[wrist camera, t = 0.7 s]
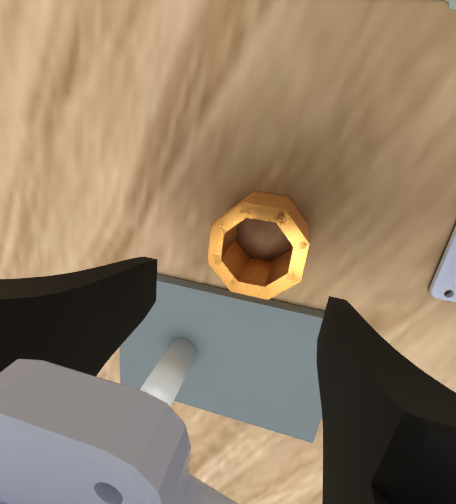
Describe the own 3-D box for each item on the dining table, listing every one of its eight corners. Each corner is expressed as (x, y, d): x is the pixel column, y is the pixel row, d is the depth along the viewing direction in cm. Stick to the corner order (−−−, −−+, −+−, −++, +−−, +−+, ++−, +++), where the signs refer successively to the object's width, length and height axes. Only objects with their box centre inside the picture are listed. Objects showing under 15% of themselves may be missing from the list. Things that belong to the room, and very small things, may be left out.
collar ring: (314, 200, 19) (316, 214, 15) (297, 278, 21) (295, 306, 17) (230, 187, 20) (213, 197, 16) (221, 262, 22) (204, 286, 18)
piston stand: (349, 316, 21) (364, 377, 16) (312, 432, 26) (314, 510, 20) (124, 266, 24) (71, 302, 19) (126, 376, 29) (84, 431, 23)
